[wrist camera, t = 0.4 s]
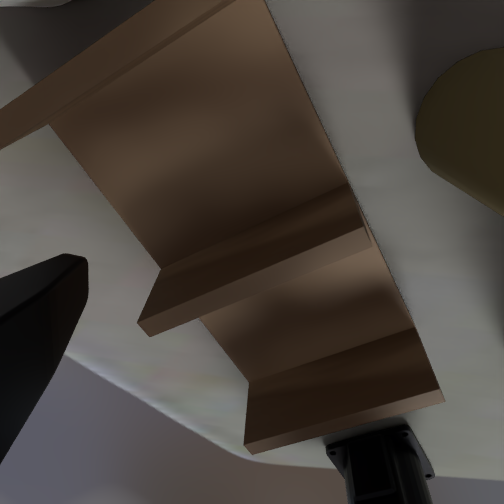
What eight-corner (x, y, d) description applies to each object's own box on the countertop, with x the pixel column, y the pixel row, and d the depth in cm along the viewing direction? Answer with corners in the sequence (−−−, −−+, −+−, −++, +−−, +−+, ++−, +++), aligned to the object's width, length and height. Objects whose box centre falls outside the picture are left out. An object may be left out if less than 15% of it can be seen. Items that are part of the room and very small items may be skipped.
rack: (415, 327, 25) (445, 401, 21) (257, 380, 29) (252, 454, 24) (246, -40, 16) (231, -54, 12) (44, 99, 20) (-31, 130, 15)
